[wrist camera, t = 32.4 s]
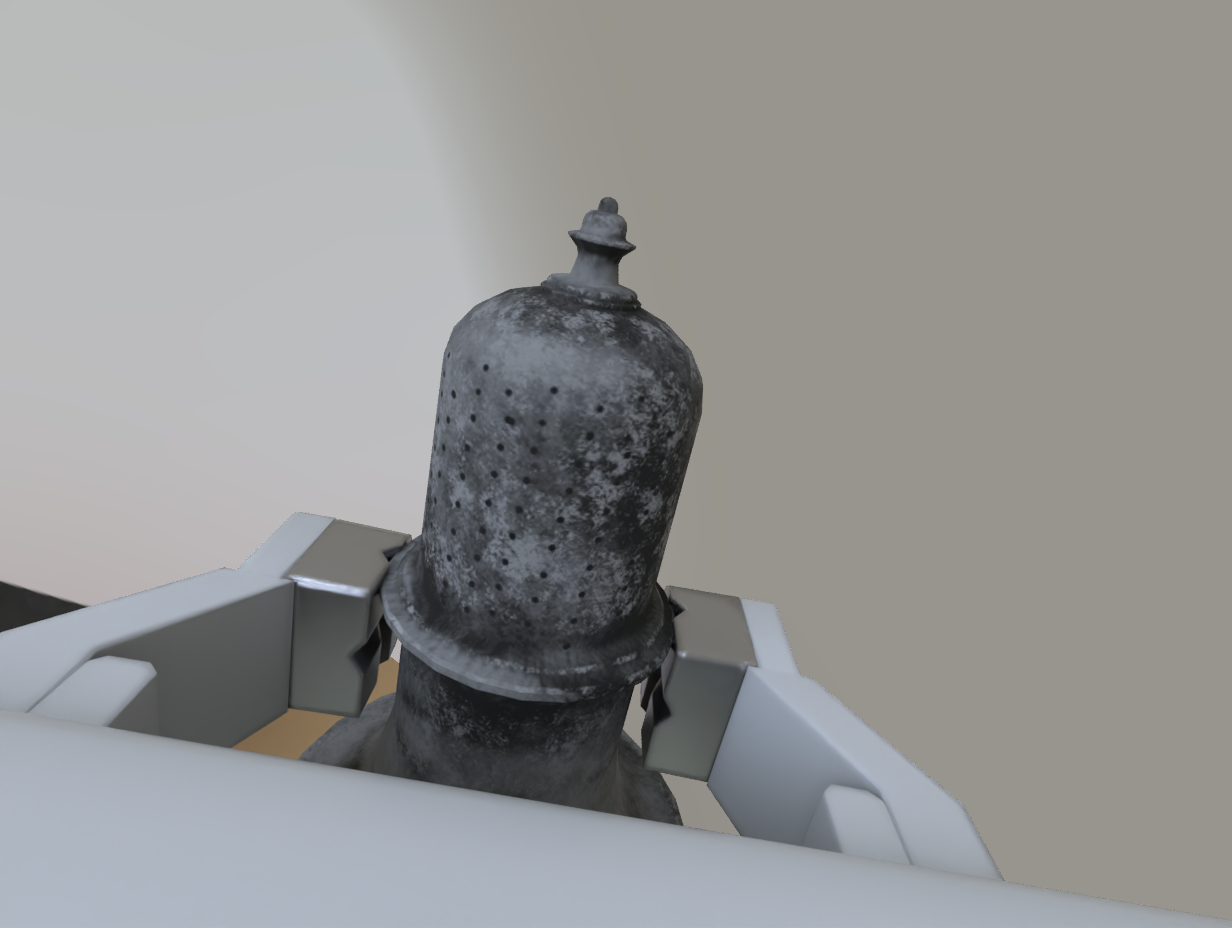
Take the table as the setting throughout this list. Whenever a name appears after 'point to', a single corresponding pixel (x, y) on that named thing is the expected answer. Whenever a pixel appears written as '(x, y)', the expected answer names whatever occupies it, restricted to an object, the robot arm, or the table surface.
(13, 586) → the table surface
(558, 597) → the salt shaker
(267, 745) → the bin lid
